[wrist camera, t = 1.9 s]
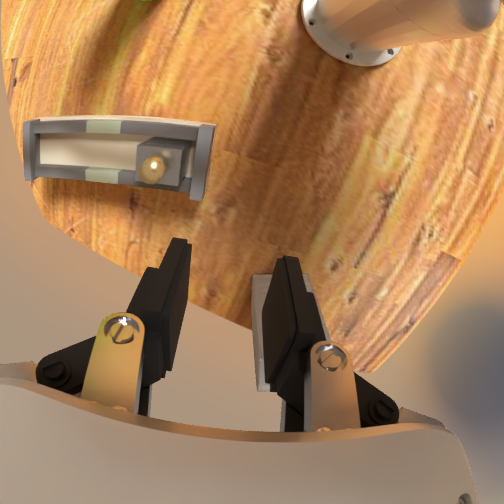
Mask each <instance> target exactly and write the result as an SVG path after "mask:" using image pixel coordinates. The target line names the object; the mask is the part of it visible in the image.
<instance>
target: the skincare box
mask: <svg viewBox="0 0 504 504" xmlns="http://www.w3.org/2000/svg"><path fill="white" fill-rule="evenodd" d="M272 275H273V274H254V275H253V276H252V296H251V317H252V331H253V344H254V359H255V373H256V385H257V391H258V392H266V391H270V384H266V383H265V374H264V354H263V335H262V308H263V305H264V302H265V298H266V295H267V292H268V288H269V285H270V282H271V278H272ZM303 278H304V282H305V286H306V290H307V292H312V293H313V294H314V296H315V293H314V290H313V287H312V285H311V282H310V279H309V277H308V274H303ZM315 299H316V303H317V307H318V310H319V314H320V318H321V322H322V325H323V329H324V333H325V337H326V341H331V338H330V335H329V333H328V330H327V327H326V324H325V321H324V318H323V315H322V312H321V310H320V307H319V304H318V301H317V298H316V296H315Z"/></svg>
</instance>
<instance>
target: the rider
mask: <svg viewBox="0 0 504 504" xmlns="http://www.w3.org/2000/svg"><path fill="white" fill-rule="evenodd" d="M190 149H191V142H188V141H179V140H171V139H161V138H150V139H148V140H146V141H144V142H143V143H141V144H139V145H137V153H136V169H135V181H141V182H144V183H146V184H155V183H157V184H165V185H172V186H179V184H180V183H181V181H182V180H183V179H184V177H185V176H186V175H187V172H188V164H189V157H190Z"/></svg>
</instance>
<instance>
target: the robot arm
mask: <svg viewBox="0 0 504 504" xmlns="http://www.w3.org/2000/svg"><path fill="white" fill-rule="evenodd" d="M501 2H502V3H503V4H504V0H302V3H301V16H302V20H303V24H304V26H305V28H306V30H307V32H308V34H309V35H310V37H311V38H312V39H313V41H314V42H315V43H316V44H317V45H318V46H319V47H320V48H321V49H322V50H324V51H325V52H326V53H328V54H329V55H331V56H332V57H334V58H336V59H338V60H340V61H342V62H345V63H347V64H352V65H356V66H375V65H380V64H383V63H386V62H388V61H390V60H391V59H393V58H394V57H395V56H396V55H397V54H398V52H399V51H400V50H401V48H402V47H403V46H408V45H414V44H420V43H427V42H434V41H442V40H451V39H459V38H469V37H474V36H477V35H479V34H482V33H483V32H485V31H486V30H487V29H489V28H490V26H491V25H492V24H493V22H494V21H495V19H496V17H497V14H498V12H499V9H500V5H501ZM309 22H311V23H313V25H310V24H309ZM388 52H389V54H388ZM346 55H348V57H349V58H348V59H347V58H346ZM191 251H192V244H188V243H187V239H181V238H174V237H173V238H172V240H171V243H170V245H169V247H168V249H167V251H166V254H165V256H164V258H163V260H162V263H161V265H160V267H159V269H157V268H152V267H147V269H146V270H145V272H144V274H143V276H142V279H141V281H140V283H139V285H138V287H137V289H136V291H135V293H134V296H133V298H132V300H131V302H130V304H129V307H128V309H127V311H126V312H124V313H123V312H119V313H114V314H111V315H110V316H108V317H106V318H105V319H104V320H103V321H102V322H101V324H100V326H99V330H98V333H97V336H94V337H92V338H89V339H87V340H84V341H82V342H80V343H77V344H74V345H72V346H69V347H67V348H65V349H62V350H59V351H57V352H54V353H52V354H49V355H48V356H46V357H44V358H43V359H42V360H41V361H40V362H39V363H38V364H34V362H33V361H30V362H21V363H10V364H0V504H478V499H477V493H476V488H475V483H474V480H473V476H472V472H471V469H470V465H469V462H468V459H467V457H466V454H465V452H464V449H463V447H462V445H461V443H460V441H459V439H458V438H457V436H456V435H455V434H454V433H453V432H451V431H450V430H448V429H446V428H445V426H444V425H443V424H442V422H440V421H438V420H437V419H434V418H431V417H428V416H425V415H422V414H419V413H417V412H414V411H411V410H409V409H406V408H403V407H401V408H400V409H398V407H397V405H396V403H395V402H394V401H393V400H392V399H391V398H390V397H388V396H387V395H386V394H384V393H383V392H381V391H380V390H378V389H377V388H376V387H374V386H373V385H371V384H370V383H368V382H367V381H366V380H364V379H363V378H362V377H360V376H359V375H357V374H356V373H354V371H353V365H352V359H351V356H350V354H349V353H348V351H347V350H346V349H345V348H344V347H343V346H341V345H339V344H338V343H336V342H332V341H326V337H325V333H324V329H323V325H322V322H321V318H320V314H319V310H318V307H317V303H316V299H315V296H314V294H313V293H312V292H307V290H306V286H305V282H304V278H303V274H302V271H301V267H300V263H299V259H298V258H297V257H291V256H285V255H284V256H283V257H282V259H281V258H278V259H277V262H276V265H275V268H274V272H273V275H272V278H271V282H270V285H269V288H268V292H267V295H266V298H265V302H264V305H263V308H262V335H263V354H264V374H265V383H266V384H270V392H277V395H279V396H280V397H281V398H282V408H281V409H282V410H281V423H280V432H258V431H241V430H229V429H219V428H210V427H202V426H194V425H188V424H182V423H176V422H171V421H165V420H160V419H155V418H150V408H151V393H152V384H153V383H155V382H157V381H159V380H160V379H161V378H165V374H166V370H167V371H171V370H172V367H173V361H174V357H175V352H176V348H177V344H178V339H179V335H180V330H181V326H182V321H183V317H184V313H185V308H186V305H187V298H188V286H189V273H190V262H191Z"/></svg>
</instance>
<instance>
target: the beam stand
mask: <svg viewBox="0 0 504 504" xmlns="http://www.w3.org/2000/svg"><path fill="white" fill-rule="evenodd" d="M216 129H217V124H214V123H207V122H199V121H191V120H181V119H171V118H160V117H145V116H125V115H71V116H52V117H40V118H37V119H33V120H30V121H26V122H23V159H24V174H25V181H33V180H34V179H36V178H38V177H50V178H63V179H75V180H86V181H93V182H102V183H112V184H124V185H132V186H140V187H148V188H156V189H163V190H170V191H178V192H184V193H190V198H189V199H190V200H197V201H202V199H203V197H204V195H205V192H206V190H207V184H208V177H209V171H210V164H211V158H212V152H213V146H214V140H215V134H216ZM150 138H161V139H171V140H179V141H188V142H191V149H190V157H189V164H188V172H187V175H186V176H185V177H184V179H183V180H182V181H181V183H180V184H179V186H172V185H165V184H157V183H155V184H146V183H144V182H141V181H135V169H136V153H137V145H139V144H141V143H143V142H144V141H146V140H148V139H150Z"/></svg>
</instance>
